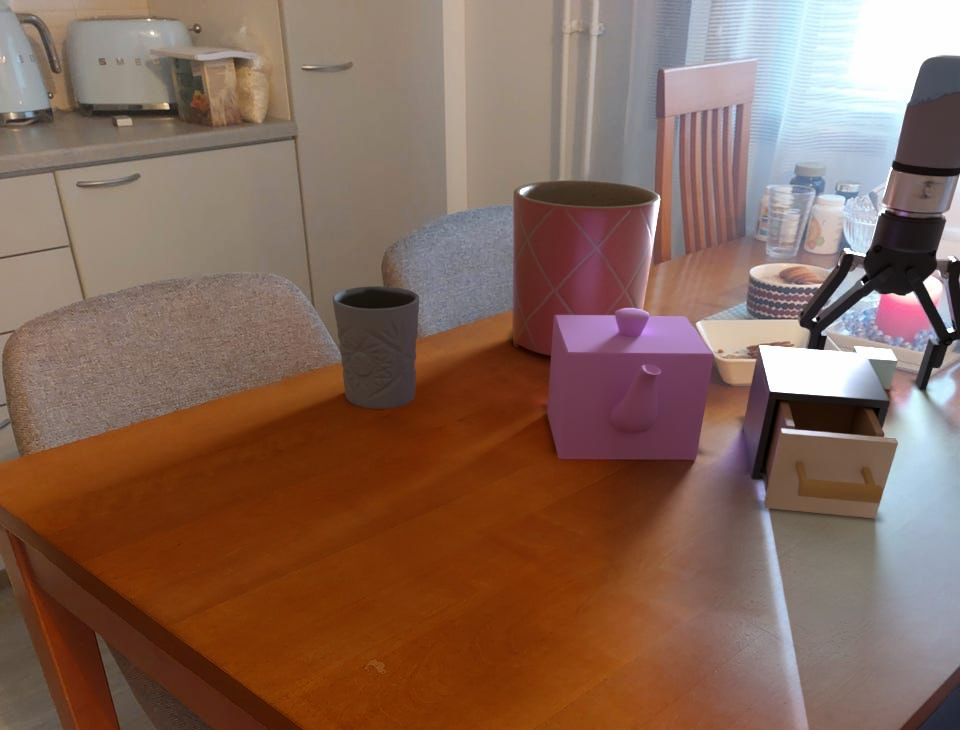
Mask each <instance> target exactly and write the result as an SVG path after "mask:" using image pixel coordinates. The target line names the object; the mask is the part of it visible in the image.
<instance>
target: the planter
mask: <svg viewBox="0 0 960 730" xmlns="http://www.w3.org/2000/svg"><path fill="white" fill-rule="evenodd" d="M512 199H513V200H512V201H513V203H512V205H513V209H512V211H513V213H512V312H511V313H512V315H511V317H512V318H511V319H512V321H511V323H512V325H511V326H512V327H511V328H512V341H513V346H514V347H515V348H518V347H519V346H521V347H522V348H524V349H526V350H528V351H531V352H534V353H538V354H541V355H546V356H550V357H551V351H552V336H553V321H554V316H555V315H615V312H616V311H617V310H620V309H624V308H636V309H641V310H644V305H645V299H646V292H647V286H648V281H649V276H650V275H649V274H650V268H651V262H652V258H653V257H652V256H653V250H654V243H655V235H656V231H657V230H656V229H657V222H658V216H659V209H660V203H661V196H660V195H659V194H658V193H656V192H655V191H653V190H650V189H647V188H644V187H640V186H636V185H631V184H626V183H619V182H611V181H610V182H608V181H601V180H600V181H599V180H579V179H578V180H575V179H574V180H572V179H571V180H568V179H567V180H566V179H565V180H548V181H547V180H546V181H538V182H531V183H526V184H522V185H520V186H517V187H515V189H514V190H513V198H512Z"/></svg>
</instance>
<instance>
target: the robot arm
mask: <svg viewBox="0 0 960 730" xmlns="http://www.w3.org/2000/svg"><path fill="white" fill-rule="evenodd" d="M959 179H960V55H953V54H937V55H931V56H928V57H927V58H926V59H924V60H923V61H922V62H920V64H919V66H918V69H917V71H916V74H915V78H914V82H913V84H912V87H911V91H910V94H909V98H908V100H907V102H906V106H905V111H904V114H903V119H902V121H901V126H900V131H899V133H898V139H897V143H896V147H895V151H894V154H893V159H892V164H891V167H890V170H889V174H888V177H887V181H886V184H885V185H886V186H885V189H884V192H883V196H882V200H881V204H882V205H883V206H884V207H885V208H883V209H882V210H881V211H879V212H878V215H877V219H876V223H875V226H874V230H873V234H872V238H871V242H870V245H869V247H868V249H867V251H866V252H865V254H864V253H859V252H854V251H852V250H851V249H850V248H847V247H845V248H843V249H842V250H841V251H840V254H839V256H838V259H837V262H836V264H835V266H834V268H833V269H832V271H831V272H830V273H829V275H828V276H827V277H826V279H825V280H824V281H823V282H822V284H821V285H820V287H818V289H817V290H816V291H815V293H814V294H813V295H812V297H811V298H810V299H809V300H808V302H807V303H806V305H805V306H804V307H803V308H802V310H801V311H800V312H799V314H798V315H797V319H796V320H797V322H798V324H799V326H800V328H802V329H806V330H808V331H809V333H808V335H807V340H806V345H805V348H804V349H812V350H825V348H826V347H825V346H826V342H827V338H828V334H827V332H826V329H827V328H828V327H830V326H831V325H832V324H833V323H835V322H836V321H837V320H838V319H839V318H840V317H842V316H843V315H845V313H846V312H848V311H849V310H850V309H852V308H853V307H854V306H855V305H856V304H858V303H859V302H860V301H861V300H862V299H864V298H867V296H869V295H870V294H872V293H873V292H874V291H875V292H876V293H877V294H879V295H890V294H891V295H892V294H893V295H897V296H900V297H906V295H909V294H911V293H913V294H914V296H915V298H916V300H917V301H918V304H919V305H920V307H921V309H922V311H923V313H924V315H925V316H926V319H927V320H928V322H929V324H930V326H931V328H932V330H933V332H934V334H935V335H936V337H928V340H927V343H926V346H925V350H924V352H923V356H922V359H921V361H920V365H919V369H918V372H917V375H916V378H915V384H916V385H917V387H918V389H919V390H925V391H926V390H927V387H928V384H929V382H930V379H931V375H932V372H933V369H940V368H941V366H943V363H944V359H945V356H946V353H947V350H948V348H949V346H951V345H952V344H953V342H955V341H960V260H959V258H958V257H957V256H955V255H950V256H948V257H947V258H937V253H938V249H939V246H940V243H941V240H942V236H943V233H944V230H945V226H946V224H947V219H946V216H945V215H944V214H945V213H947V212H948V211H950V209H951V206H952V203H953V199H954V196H955V191H956V189H957V186H958V182H959ZM858 266H862V268H863V270H864V272H865V273H864V275H862V276H861V277H860V278H859V279H857V280H856V281H855V283H854V284H853V285H852V286H851V287H850V288H849V289H847V291H845V292H844V293H842V295H841V296H839V298H837V299H836V300H835V301H833V302H832V303H831V304H830V305H829V306H827V307H826V308H825V309H824V310H822V309H823V308H824V307H825V305H826V303H827V302H828V301H829V300H830V298H831V297H832V296H833V295H834V293H835V292H836V291H837V290H838V288H839V287H840V285H842V284H843V282H844V280H845V279H846V278H847V276H848V274H849V273H851V272H852V273H853V272H854V271H855V270H856V268H857V267H858ZM935 271H938V275H939V276H940V277H941V278H942V279H943V285H944V291H945V295H946V300H947V305H948V306H947V307H948V310H949V317H950V321H951V327H950V328H947V326H946V324H945V321H943V318H942V316H941V315H940V313H939V311H938V309H937V307H936V305H935V303H934V302H933V299H932V297H931V295H930V293H929V291H928V289H927V287H926V285H925V283H924V282H925V281H926V280H927V279H928V278H929V277H930V276H931V275H932V274H934V273H935ZM821 310H822V311H821ZM820 311H821V312H820Z"/></svg>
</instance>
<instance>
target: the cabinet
mask: <svg viewBox="0 0 960 730" xmlns="http://www.w3.org/2000/svg"><path fill="white" fill-rule="evenodd" d="M755 358H756V359H755V364H754V367H753V368H754V370H753V374H752V379H751V384H750V388H749V393H748V399H747V404H746V408H745V413H744V419H743V424H742V429H743V435H744V441H745V447H746V454H747V461H748V467H749V474H750V478H751V480H759V481H764V480H765V478H764V473H763V462H764V454H765V449H766V444H767V440H768V435H769V431H770V426H771V422H772V417H773V412H774V408H775V403H776V399H778V400H790V401H802V402H815V403H827V404H839V405H851V406H863V407H872V408H873V411H874V413H875V415H876V417H877V419H878V421H879V423H880V426H881V428H882V430H883V428H884V424H885V422H886V418H887V415H888V411H889V409H890V408H889V407H890V404H891V400H890V398H889V396H888V394H887V391H886V389H884V388H883V386H882V384H881V382H880V380H879V379H878V377H877V375H876V373H875V371H874V369H873V367H872V365H871V363H870V361H869V359H868V357H867V355H866V354H864V353H853V352H850V351H836V350H825V349H824V350H812V349H805V348H797V347H785V346H771V345H759V346H758V349H757V353H756V357H755Z"/></svg>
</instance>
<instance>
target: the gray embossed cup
mask: <svg viewBox="0 0 960 730" xmlns="http://www.w3.org/2000/svg"><path fill="white" fill-rule="evenodd" d="M332 304H333V311H334V318H335V322H336V327H337V338H338V340H339V354H340V357H341V358H340V359H341V366H342V379H343V380H342V381H343V386H344V393H345V394H344V395H345V398H346V400H347V401H348V402H349V403H350V404H352V405H354V406H357V407H359V408H364V409H369V410H390V409H396V408H400V407H403V406H406V405H408V404H410V403H411V402H413V400H414V399H415V395H416V383H417V382H416V378H417V377H416V376H417V372H416V365H415V364H416V359H417V352H416V349H417V344H416V342H417V338H418V328H419V312H420V311H419V310H420V296H419V294H417V293H416V292H415V291H412V290H409V289H406V288H401V287H395V286H383V285H381V286H380V285H374V286H373V285H372V286H358V287H352V288H348V289H344V290H341V291H338V292H337V293H335V294H334V295H333V296H332Z"/></svg>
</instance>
